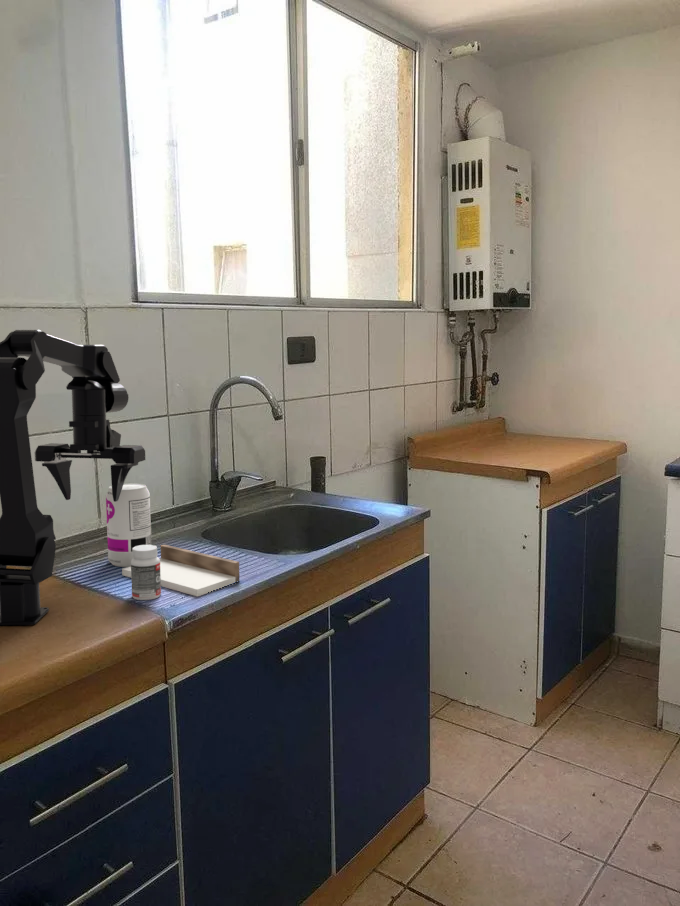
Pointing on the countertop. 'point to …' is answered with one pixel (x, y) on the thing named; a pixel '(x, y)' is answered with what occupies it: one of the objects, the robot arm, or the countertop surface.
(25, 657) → the countertop surface
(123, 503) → the supplement can
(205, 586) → the shelf board
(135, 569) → the pill bottle
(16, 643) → the countertop surface
